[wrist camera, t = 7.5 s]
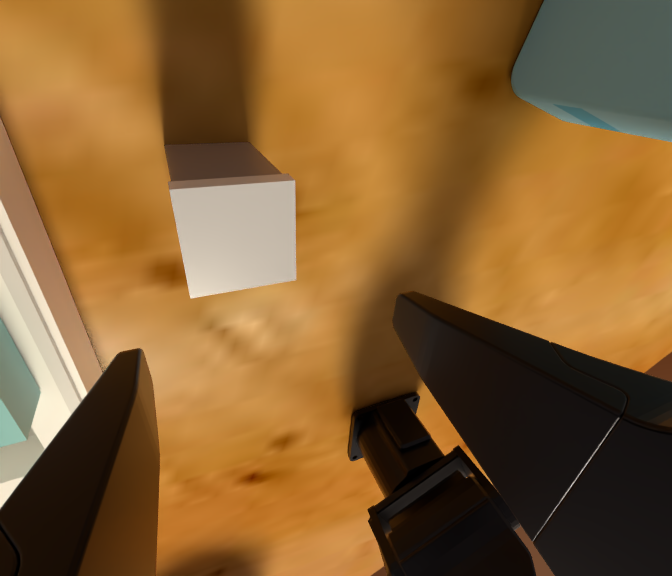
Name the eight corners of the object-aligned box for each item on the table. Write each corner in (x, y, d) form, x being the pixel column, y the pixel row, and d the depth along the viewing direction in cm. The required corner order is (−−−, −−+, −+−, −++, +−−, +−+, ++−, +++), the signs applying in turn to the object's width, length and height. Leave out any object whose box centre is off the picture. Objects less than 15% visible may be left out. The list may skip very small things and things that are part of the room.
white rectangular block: (256, 217, 19) (296, 279, 14) (177, 226, 18) (190, 298, 13) (250, 139, 17) (295, 180, 12) (161, 142, 16) (169, 189, 11)
